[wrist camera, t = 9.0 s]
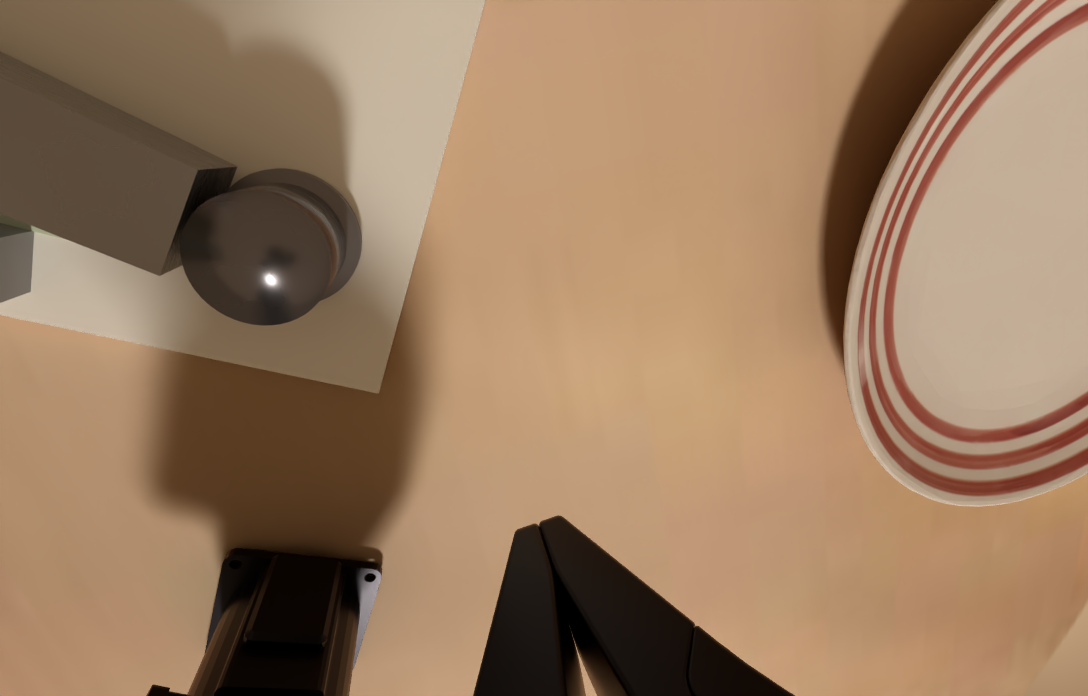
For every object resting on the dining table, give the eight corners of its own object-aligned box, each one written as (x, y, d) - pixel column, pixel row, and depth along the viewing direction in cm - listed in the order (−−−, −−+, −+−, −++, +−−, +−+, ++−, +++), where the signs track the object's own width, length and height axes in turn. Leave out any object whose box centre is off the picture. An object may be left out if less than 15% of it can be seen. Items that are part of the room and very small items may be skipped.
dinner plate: (1378, -73, 24) (1519, -105, 21) (1134, 444, 34) (1204, 473, 31) (866, -129, 18) (954, -184, 15) (757, 505, 28) (796, 549, 25)
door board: (380, 383, 21) (371, 432, 17) (-335, 229, 15) (-587, 255, 11) (520, -134, 16) (549, -218, 12) (-467, -691, 10) (-1000, -1194, 6)
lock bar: (363, 217, 17) (351, 231, 14) (321, 313, 18) (301, 345, 15) (-274, -97, 12) (-508, -179, 9) (-294, 59, 12) (-514, 31, 9)
